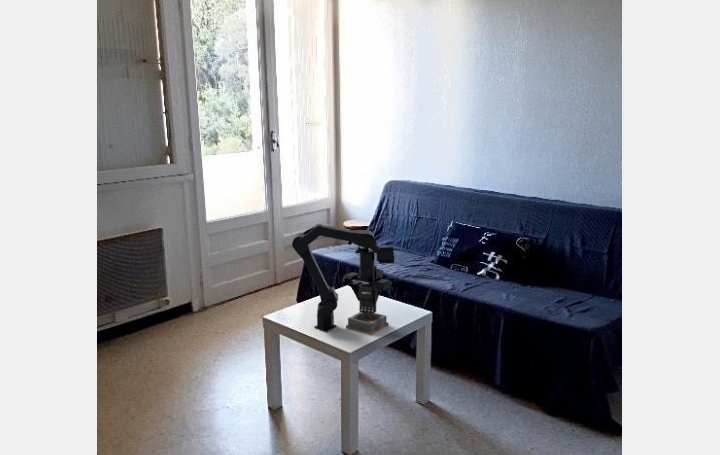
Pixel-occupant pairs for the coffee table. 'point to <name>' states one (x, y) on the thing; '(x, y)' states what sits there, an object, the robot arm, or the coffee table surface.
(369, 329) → the dock
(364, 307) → the battery charger
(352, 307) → the coffee table surface
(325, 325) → the robot arm
